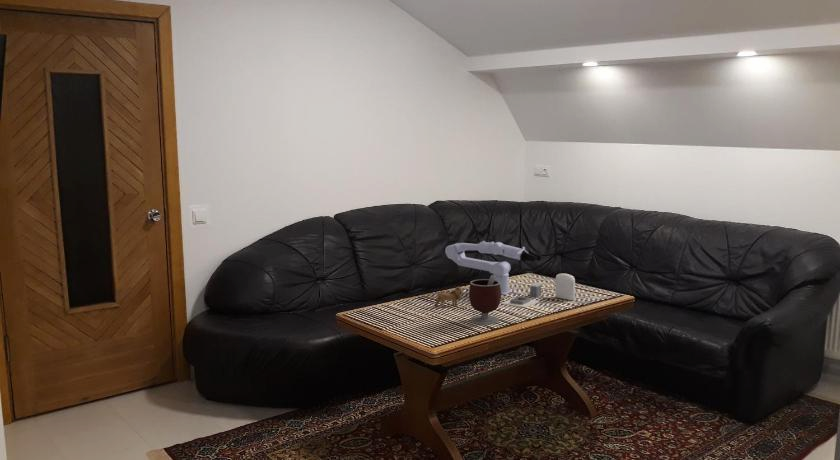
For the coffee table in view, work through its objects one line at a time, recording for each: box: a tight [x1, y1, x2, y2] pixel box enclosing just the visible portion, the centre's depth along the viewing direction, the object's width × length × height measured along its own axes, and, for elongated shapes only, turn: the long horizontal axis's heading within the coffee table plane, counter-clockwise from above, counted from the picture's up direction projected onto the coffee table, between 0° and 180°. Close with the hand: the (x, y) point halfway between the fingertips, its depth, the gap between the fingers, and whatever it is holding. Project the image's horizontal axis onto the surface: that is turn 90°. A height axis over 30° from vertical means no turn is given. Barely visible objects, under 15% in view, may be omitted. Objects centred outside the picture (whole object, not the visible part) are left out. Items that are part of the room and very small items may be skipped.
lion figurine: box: [433, 286, 464, 309], centre depth 306 cm, size 15×5×9 cm, turn 110°
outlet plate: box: [500, 296, 540, 309], centre depth 311 cm, size 13×14×2 cm
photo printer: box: [555, 273, 576, 301], centre depth 318 cm, size 10×4×12 cm, turn 39°
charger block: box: [529, 283, 542, 298], centre depth 324 cm, size 4×5×6 cm
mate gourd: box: [468, 273, 502, 326], centre depth 281 cm, size 16×14×20 cm
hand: (538, 258), depth 320 cm, fingers open, 7 cm apart
